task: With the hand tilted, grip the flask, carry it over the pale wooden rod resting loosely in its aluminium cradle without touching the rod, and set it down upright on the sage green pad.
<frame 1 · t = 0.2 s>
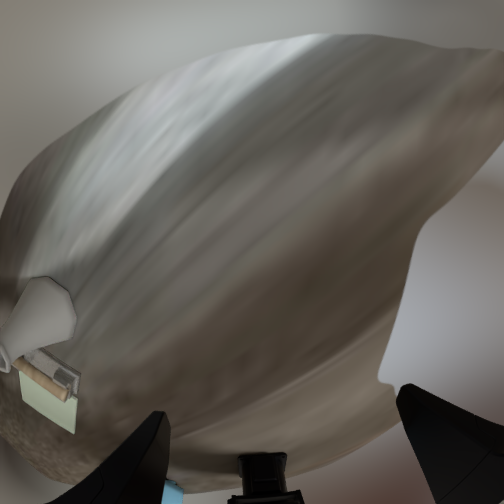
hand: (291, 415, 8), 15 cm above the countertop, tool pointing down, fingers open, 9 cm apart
teapot: (160, 480, 30), on the countertop
cradle: (46, 361, 24), on the countertop
flask: (52, 307, 22), on the countertop
pad: (47, 399, 25), on the countertop
rod: (38, 371, 21), point 2 cm above the countertop, touching cradle
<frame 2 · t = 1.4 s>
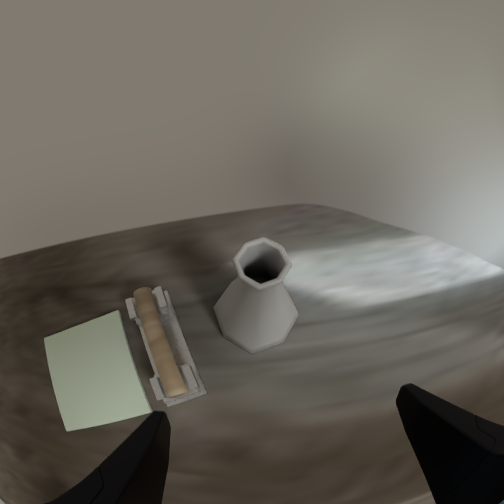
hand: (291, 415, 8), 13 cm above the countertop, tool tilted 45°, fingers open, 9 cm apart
cradle: (167, 347, 22), on the countertop
flask: (255, 313, 24), on the countertop
pad: (90, 374, 20), on the countertop
rod: (160, 343, 20), point 2 cm above the countertop, touching cradle
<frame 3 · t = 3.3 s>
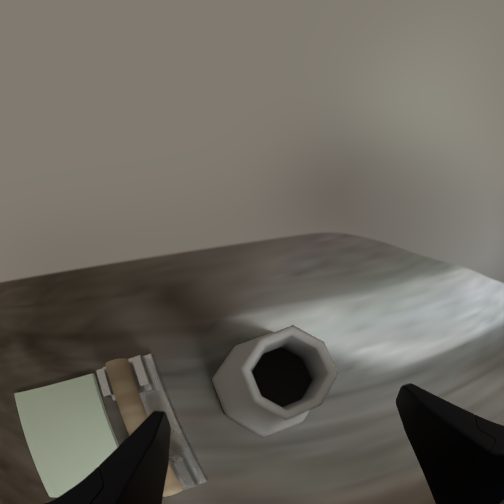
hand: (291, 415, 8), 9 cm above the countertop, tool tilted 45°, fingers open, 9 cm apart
cradle: (155, 425, 15), on the countertop
flask: (267, 385, 17), on the countertop
pad: (67, 443, 13), on the countertop
rod: (144, 428, 13), point 2 cm above the countertop, touching cradle
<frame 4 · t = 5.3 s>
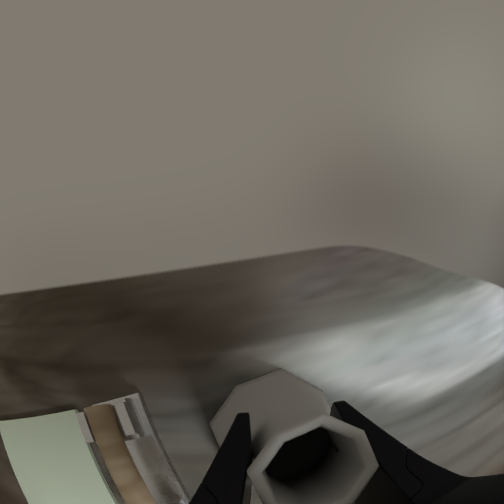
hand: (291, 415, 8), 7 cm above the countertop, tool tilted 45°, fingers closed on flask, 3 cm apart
cradle: (147, 469, 11), on the countertop
flask: (275, 428, 14), on the countertop, touching gripper
pad: (55, 478, 10), on the countertop
rod: (134, 478, 10), point 2 cm above the countertop, touching cradle
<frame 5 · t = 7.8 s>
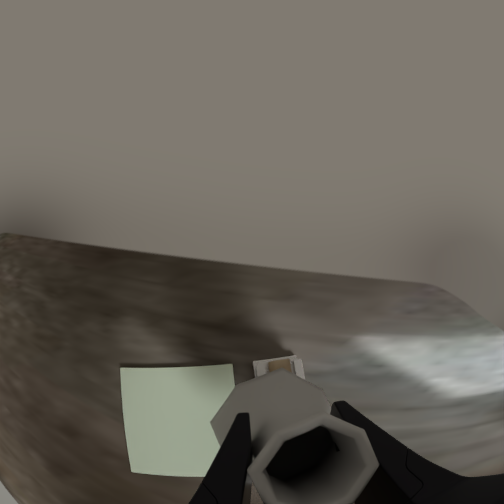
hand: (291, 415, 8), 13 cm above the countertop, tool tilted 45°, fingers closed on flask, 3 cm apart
cradle: (282, 415, 19), on the countertop
flask: (275, 427, 14), point 6 cm above the countertop, touching gripper
pad: (179, 423, 19), on the countertop
rod: (285, 417, 17), point 2 cm above the countertop, touching cradle
when the fingers open (8 cm above the countertop, at t = 10.5 s): flask stays where it is, resting on pad.
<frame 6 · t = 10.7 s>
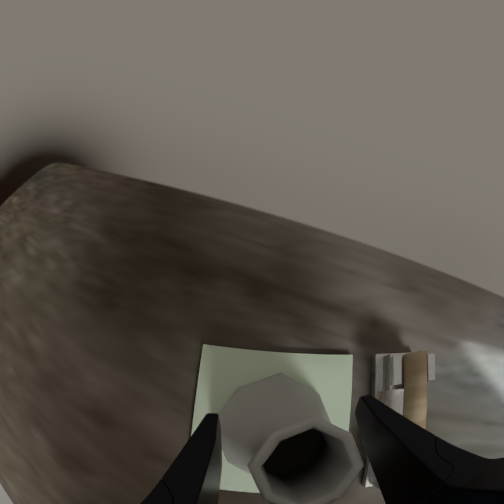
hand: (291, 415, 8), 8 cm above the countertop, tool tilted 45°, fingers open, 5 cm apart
cradle: (391, 420, 14), on the countertop
flask: (273, 429, 14), resting on pad
pad: (272, 425, 15), on the countertop
rod: (407, 421, 12), point 2 cm above the countertop, touching cradle
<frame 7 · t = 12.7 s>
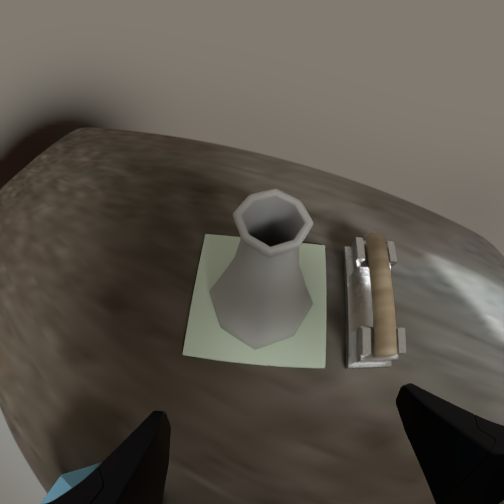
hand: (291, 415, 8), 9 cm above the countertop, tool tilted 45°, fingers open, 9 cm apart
cradle: (366, 306, 20), on the countertop
flask: (260, 300, 20), resting on pad
pad: (260, 298, 20), on the countertop
rod: (377, 296, 18), point 2 cm above the countertop, touching cradle
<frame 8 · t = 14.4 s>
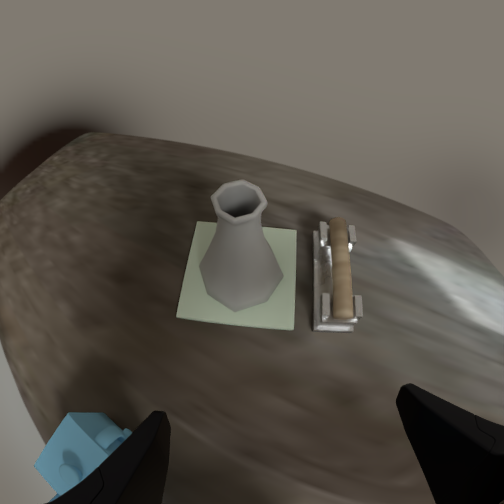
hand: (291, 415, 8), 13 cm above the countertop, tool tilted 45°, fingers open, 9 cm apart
teapot: (111, 465, 15), on the countertop
cradle: (331, 280, 25), on the countertop
flask: (240, 273, 25), resting on pad
pad: (240, 272, 25), on the countertop
rod: (338, 269, 23), point 2 cm above the countertop, touching cradle
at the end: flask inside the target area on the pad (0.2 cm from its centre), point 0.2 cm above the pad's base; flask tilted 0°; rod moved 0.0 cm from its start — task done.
